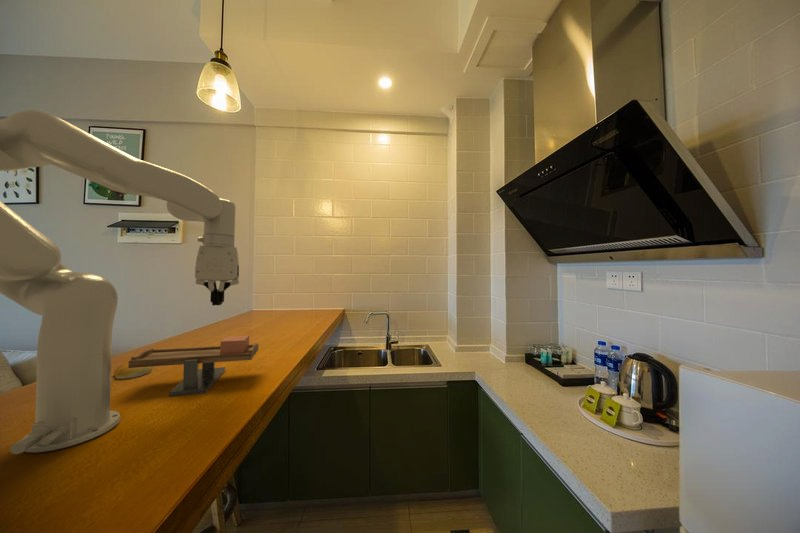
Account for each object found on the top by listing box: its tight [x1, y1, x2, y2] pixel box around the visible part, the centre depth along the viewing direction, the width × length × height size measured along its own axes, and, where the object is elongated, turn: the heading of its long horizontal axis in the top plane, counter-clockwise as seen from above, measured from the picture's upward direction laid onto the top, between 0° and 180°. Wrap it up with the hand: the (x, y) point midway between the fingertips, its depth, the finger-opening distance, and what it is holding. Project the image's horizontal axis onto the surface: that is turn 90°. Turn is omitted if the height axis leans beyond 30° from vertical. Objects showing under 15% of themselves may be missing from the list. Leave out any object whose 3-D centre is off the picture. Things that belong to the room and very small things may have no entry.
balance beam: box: [128, 342, 259, 368], centre depth 78 cm, size 11×28×3 cm, turn 107°
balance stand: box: [168, 345, 226, 398], centre depth 78 cm, size 16×8×8 cm, turn 17°
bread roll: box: [113, 360, 153, 380], centre depth 84 cm, size 8×9×4 cm
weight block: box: [219, 335, 250, 354], centre depth 81 cm, size 6×6×4 cm
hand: (217, 304), depth 79 cm, fingers closed
